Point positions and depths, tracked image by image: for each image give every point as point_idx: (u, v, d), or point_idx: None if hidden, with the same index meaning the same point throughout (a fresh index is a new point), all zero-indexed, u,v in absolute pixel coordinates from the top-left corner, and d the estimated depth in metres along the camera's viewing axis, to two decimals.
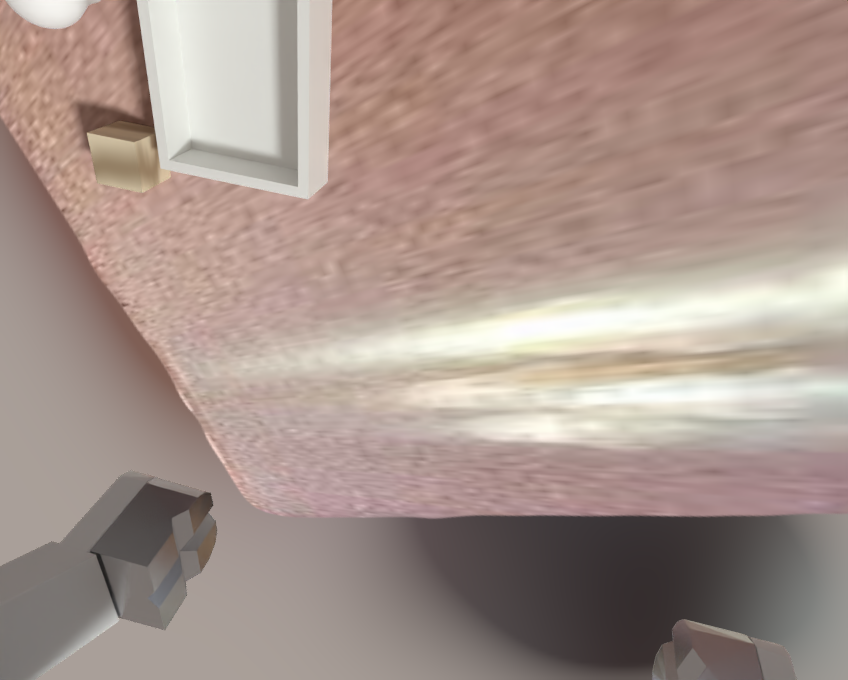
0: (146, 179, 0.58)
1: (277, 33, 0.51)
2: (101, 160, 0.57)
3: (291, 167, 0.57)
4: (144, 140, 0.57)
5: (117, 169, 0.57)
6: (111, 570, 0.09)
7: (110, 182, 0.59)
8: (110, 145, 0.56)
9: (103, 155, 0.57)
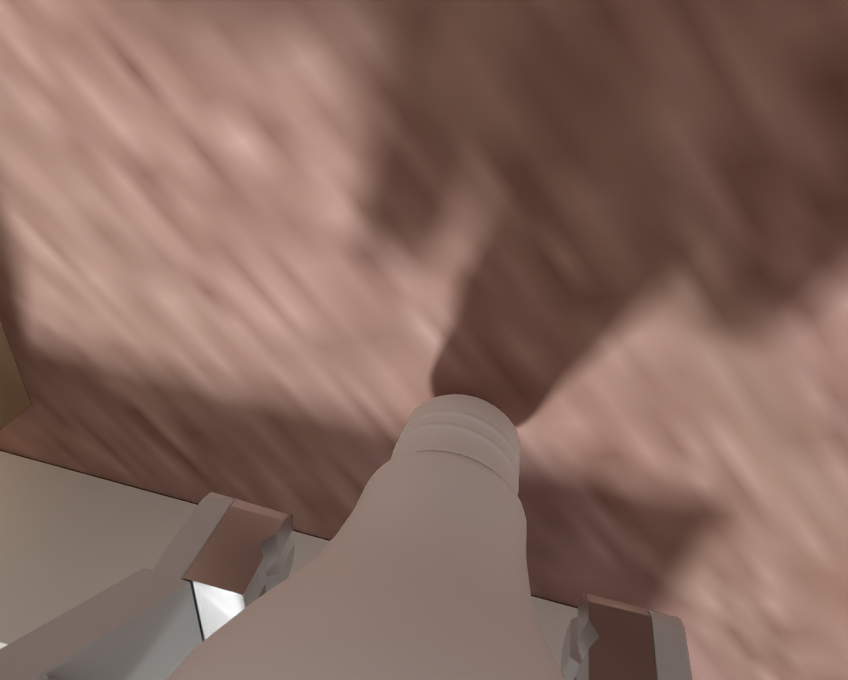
0: None
1: None
2: None
3: None
4: None
5: None
6: (203, 597, 0.09)
7: None
8: None
9: None
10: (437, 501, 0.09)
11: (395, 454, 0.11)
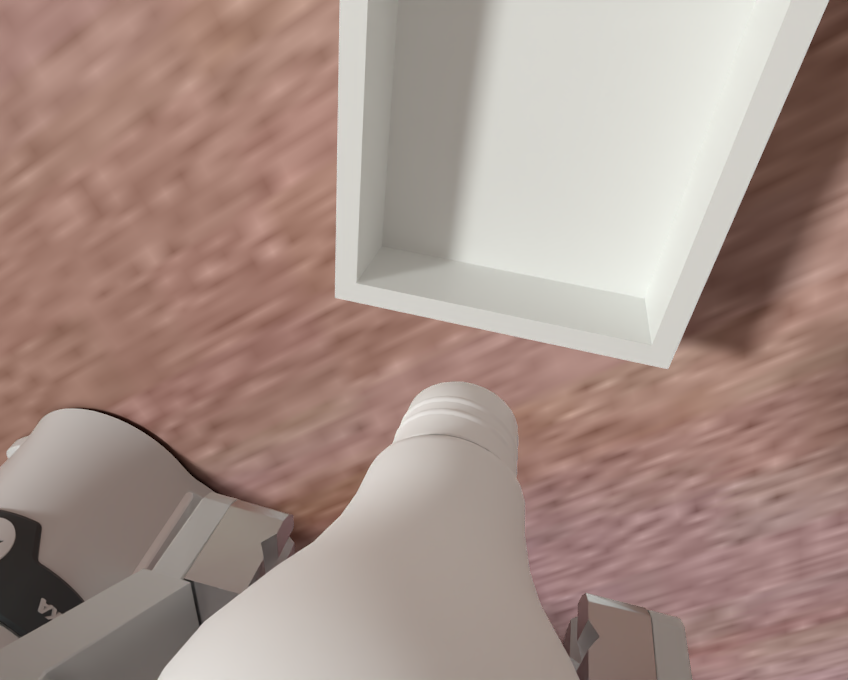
0: None
1: (464, 154, 0.26)
2: None
3: None
4: None
5: None
6: (203, 597, 0.09)
7: None
8: None
9: None
10: (438, 481, 0.10)
11: (396, 439, 0.12)
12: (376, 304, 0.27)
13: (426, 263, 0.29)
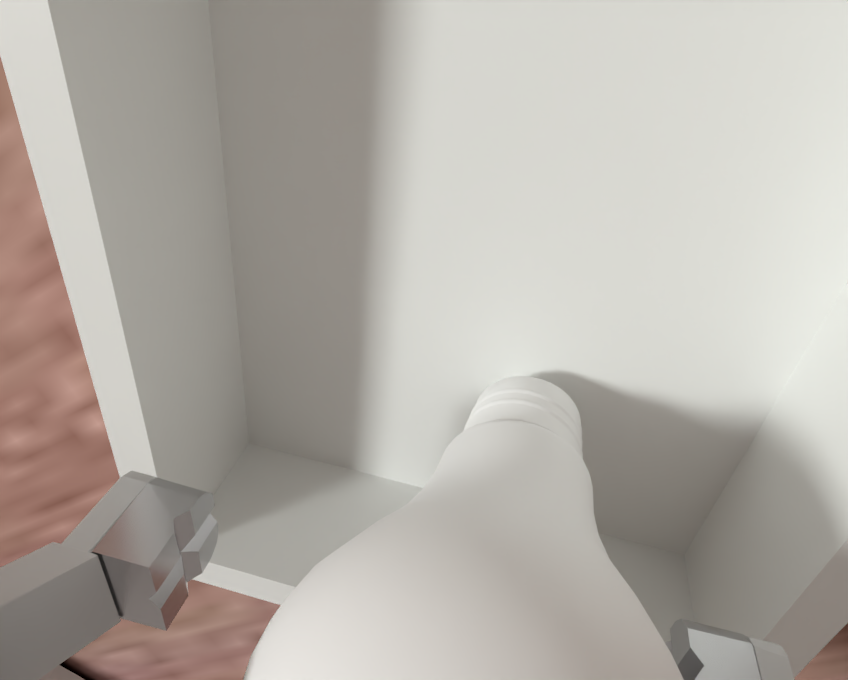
0: None
1: (367, 325, 0.14)
2: None
3: None
4: None
5: None
6: (112, 570, 0.09)
7: None
8: None
9: None
10: (517, 458, 0.10)
11: (469, 426, 0.12)
12: (213, 582, 0.15)
13: (315, 483, 0.17)
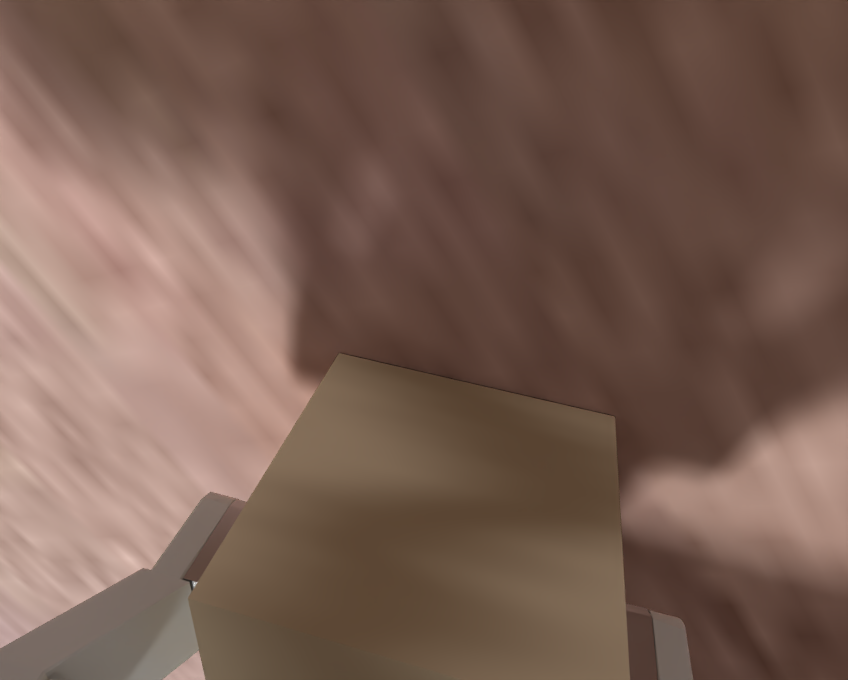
0: None
1: None
2: None
3: None
4: None
5: None
6: None
7: (228, 676, 0.08)
8: None
9: None
10: None
11: None
12: None
13: None
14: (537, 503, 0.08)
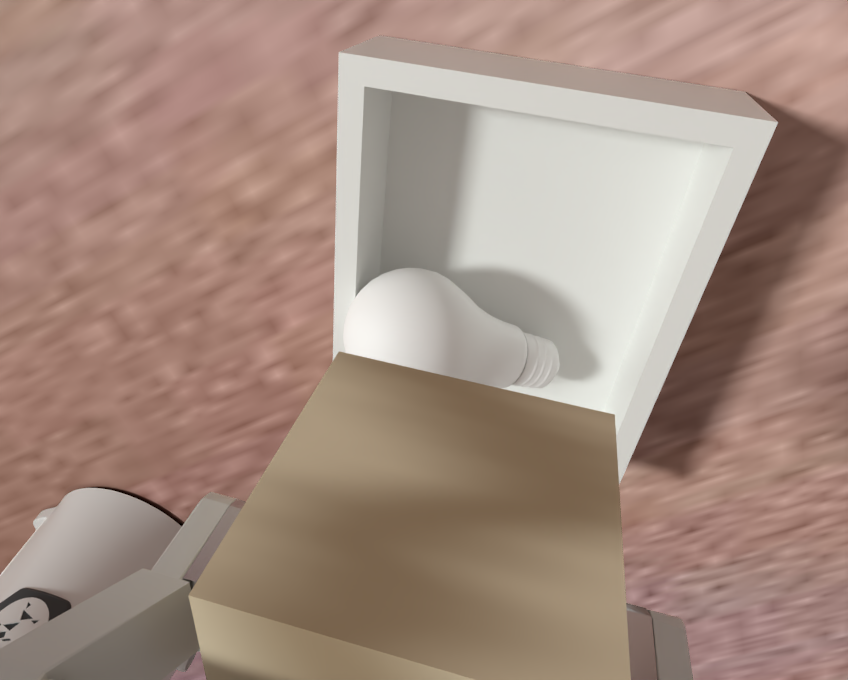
0: None
1: None
2: None
3: None
4: None
5: None
6: None
7: (228, 673, 0.08)
8: None
9: None
10: None
11: None
12: None
13: None
14: (537, 501, 0.08)
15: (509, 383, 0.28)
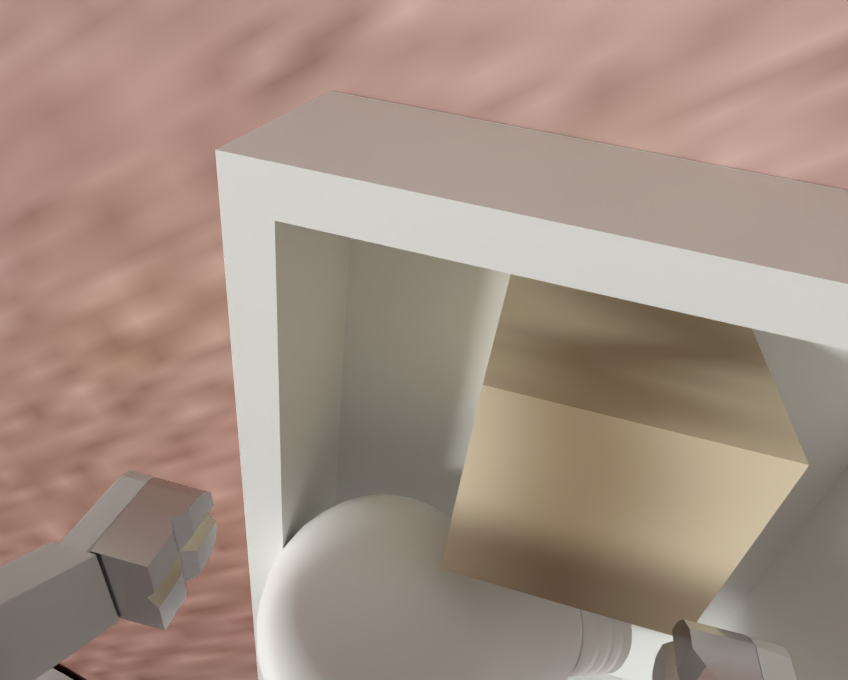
0: None
1: None
2: (619, 470, 0.10)
3: None
4: None
5: (560, 520, 0.11)
6: (111, 570, 0.09)
7: (486, 459, 0.10)
8: (692, 545, 0.10)
9: (649, 491, 0.10)
10: None
11: None
12: None
13: None
14: (702, 349, 0.11)
15: None
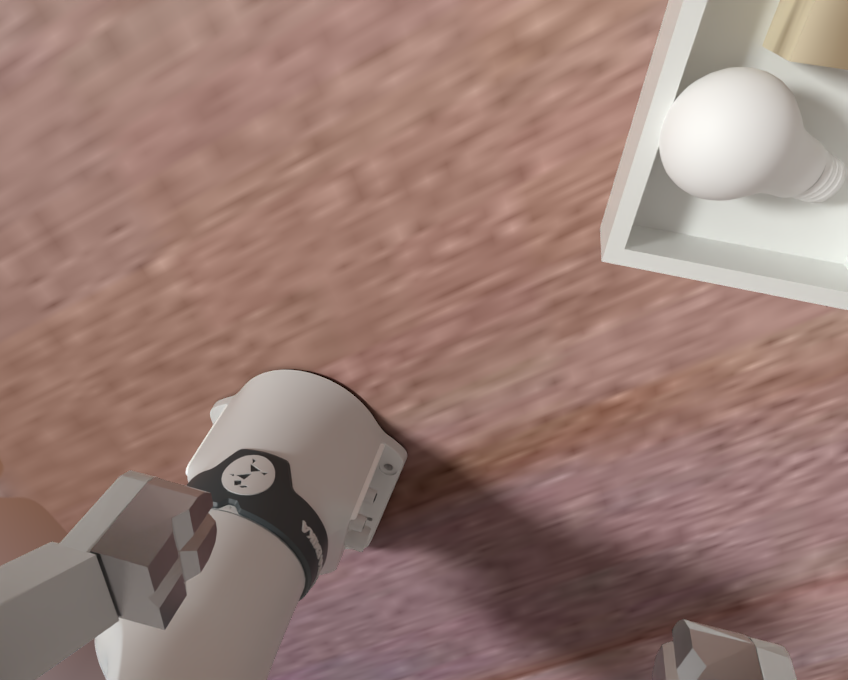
0: None
1: None
2: None
3: None
4: None
5: None
6: (111, 570, 0.09)
7: None
8: None
9: None
10: None
11: None
12: (636, 266, 0.33)
13: (663, 235, 0.35)
14: None
15: (807, 187, 0.29)
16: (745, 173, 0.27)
